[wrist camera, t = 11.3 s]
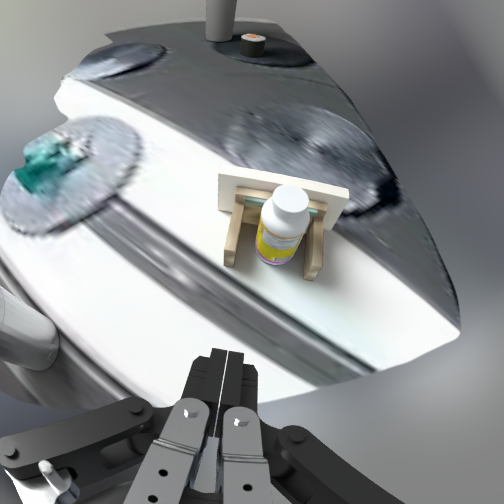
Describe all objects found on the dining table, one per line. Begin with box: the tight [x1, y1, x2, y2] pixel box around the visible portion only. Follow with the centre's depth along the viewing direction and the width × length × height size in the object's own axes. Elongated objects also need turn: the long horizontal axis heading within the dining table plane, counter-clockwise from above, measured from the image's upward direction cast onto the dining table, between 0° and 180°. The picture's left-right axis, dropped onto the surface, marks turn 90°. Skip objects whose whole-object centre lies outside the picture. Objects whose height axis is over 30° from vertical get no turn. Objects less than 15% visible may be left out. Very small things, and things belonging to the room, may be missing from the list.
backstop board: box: [218, 164, 349, 231], centre depth 46 cm, size 20×2×9 cm, turn 82°
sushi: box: [240, 34, 266, 57], centre depth 82 cm, size 8×8×8 cm
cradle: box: [224, 186, 327, 281], centre depth 43 cm, size 14×10×7 cm
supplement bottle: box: [255, 184, 310, 265], centre depth 41 cm, size 7×7×13 cm
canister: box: [206, 0, 237, 42], centre depth 77 cm, size 13×13×35 cm
